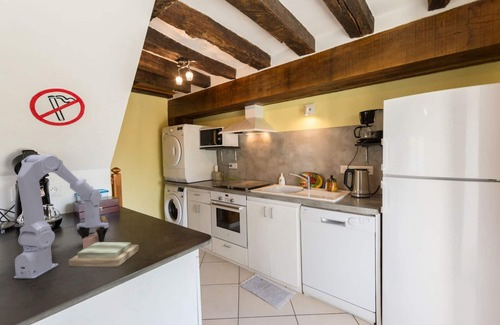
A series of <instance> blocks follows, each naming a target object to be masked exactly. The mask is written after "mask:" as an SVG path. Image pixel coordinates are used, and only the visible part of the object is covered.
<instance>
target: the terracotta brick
mask: <svg viewBox="0 0 500 325" xmlns="http://www.w3.org/2000/svg"><path fill="white" fill-rule="evenodd" d="M96 242H99V238H98V234H97V232H96V231H95V232H94V233H92V234H89V236H88V237H85V238H83V239H82V250H83V249H85V248H87V247H89V246H91V245H92V244H94V243H96Z"/></svg>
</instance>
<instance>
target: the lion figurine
mask: <svg viewBox="0 0 500 325" xmlns="http://www.w3.org/2000/svg"><path fill="white" fill-rule="evenodd" d="M100 221H101V222H104V223H108V219H107V217H106V216H105V215H104V216H103V215H102V216H101V217H100ZM83 223H85V221H84V222H83ZM90 229H91V230H95V231H96V230H97V229H100V228H90ZM76 235H80V234H79V233H78V232H77V234H76Z"/></svg>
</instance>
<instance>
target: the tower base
mask: <svg viewBox="0 0 500 325" xmlns="http://www.w3.org/2000/svg"><path fill="white" fill-rule="evenodd" d="M139 250H140V249H139V244H132V242H128V241H125V242H124V241H122V242H121V241H119V242H117V241H116V242H114V241H112V242H111V241H110V242H109V241H107V242H106V241H104V242H96V243H94V244H92V245H91V246H89V247H87V248H85V249H83V248H82V250H80V251H78V252H77V255H75V256H73V257H71V258H70V259H69V260H68V267H87V268H88V267H89V268H90V267H95V268H96V267H97V268H98V267H99V268H101V267H102V268H105V267H106V268H107V267H111V268H114V267H115V268H117V267H119V266H121V265H122V264H123V263H124V262H126V261H127V260H129V259H130V258H131V257H132V256H133V255H135V254H136V253H137V252H138V251H139Z"/></svg>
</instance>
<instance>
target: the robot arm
mask: <svg viewBox="0 0 500 325" xmlns="http://www.w3.org/2000/svg"><path fill="white" fill-rule="evenodd" d="M49 173H52V174H55V175H57V176H58V177H59V178H61V179H62V180H64V181H65V182H66V183H68V184H69V188H70V189H71V190H72V191H73V192H75V193H76V194H77V195H78V196H79V199H80V200H81V201H83V209H84V222H85V223H84V222H79V223H77V224H76V229H77V230H76V232H77V233H79V234H78V235H79V236H80V237H81V239H82V240H83V238H85V237H88V236H90V228H100V229H97V230H96V229H95V233H96V232H97V234H98V238H99V242H105V237H106V234H107V232H108V230H109V228H110V225H109V224H110V223H109V222H107V223H104V222H101V221H100V203H101V198H102V194H101V192H100V190H98V189H94V187H93V186H92V185H90V184H89V183H87V180H86V179H85V178H84V179H83V178H78V177H77V176H76V175H74V174H73V173H72V171H70V170H69V168H68V167H67V166H66V165H65V164H64V162H63V160H61V159H60V158H59V157H58V156H57V155H55V154H53V153H51V154H30V155H28V156H26V157H25V158H24V159H22V160H21V167H20V169H19V171H18V174H17V177H16V180H17V186H18V191H19V192H18V193H19V197H20V202H21V210H22V217H23V223H24V225H23V226H22V227H20V228H19V236H18V244H19V245H20V246H23V252H22V253H20V254H19V255H17V256H16V257H15V259H14V267H15V268H14V270H15V271H14V272H15V275H14V276H13V278H14V279H35V278H37V277H39V276H41V275H43V274H45V273H47V272H48V271H50V270H52V269H54V268H56V267H57V266H59V263H53V261H52V259H53V258H52V247H51V246H52V244H53V242H54V241H55V238H56V234H55V232H54V231H53V230H52V227H51V225H50V224H49V222H48V221H46V218H45V211H44V206H43V205H44V204H43V199H42V193H41V186H40V185H41V184H40V180H41V179H43V177H44V176H46V175H47V174H48V175H49Z"/></svg>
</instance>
